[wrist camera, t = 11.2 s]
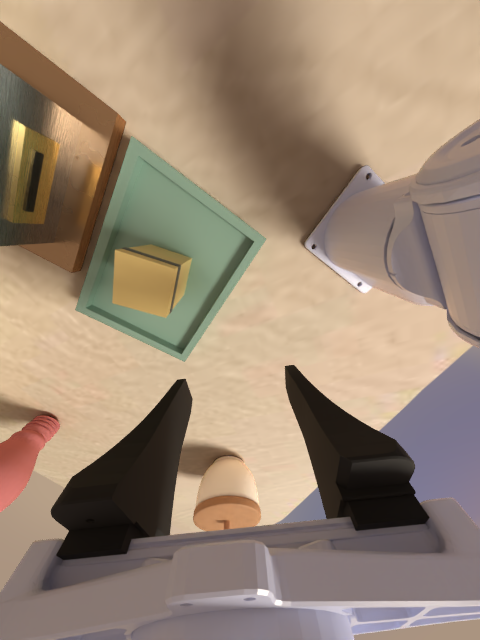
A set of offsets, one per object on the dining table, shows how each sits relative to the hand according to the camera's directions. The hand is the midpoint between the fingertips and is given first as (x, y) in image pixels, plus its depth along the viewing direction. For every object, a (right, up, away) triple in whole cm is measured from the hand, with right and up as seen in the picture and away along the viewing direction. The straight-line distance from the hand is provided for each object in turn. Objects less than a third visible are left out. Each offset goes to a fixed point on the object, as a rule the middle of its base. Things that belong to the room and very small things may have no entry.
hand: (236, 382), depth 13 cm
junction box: (-16, +17, +3) cm, 24 cm away
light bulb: (-29, -11, +16) cm, 35 cm away
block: (-7, +10, +6) cm, 13 cm away
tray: (-7, +10, +7) cm, 14 cm away
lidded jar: (-2, -24, +23) cm, 33 cm away
